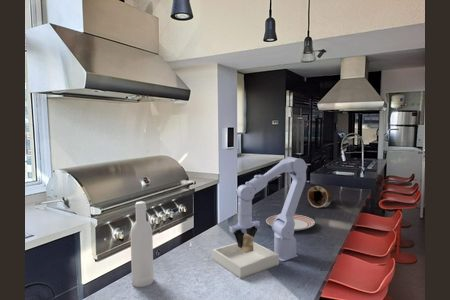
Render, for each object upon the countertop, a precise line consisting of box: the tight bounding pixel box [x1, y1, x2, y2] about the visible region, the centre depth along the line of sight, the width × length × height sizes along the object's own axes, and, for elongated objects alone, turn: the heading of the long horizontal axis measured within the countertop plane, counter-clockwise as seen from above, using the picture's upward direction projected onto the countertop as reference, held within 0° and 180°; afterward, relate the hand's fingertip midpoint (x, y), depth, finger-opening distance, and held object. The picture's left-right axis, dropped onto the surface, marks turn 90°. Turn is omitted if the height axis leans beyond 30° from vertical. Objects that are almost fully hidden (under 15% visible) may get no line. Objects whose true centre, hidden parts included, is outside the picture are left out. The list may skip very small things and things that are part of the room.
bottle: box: [129, 200, 155, 288], centre depth 110 cm, size 8×8×30 cm
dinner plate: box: [265, 214, 316, 232], centre depth 173 cm, size 28×27×3 cm
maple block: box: [238, 233, 254, 253], centre depth 126 cm, size 4×4×6 cm
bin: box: [211, 241, 280, 280], centre depth 127 cm, size 20×20×4 cm
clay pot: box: [307, 185, 334, 209], centre depth 219 cm, size 15×15×25 cm
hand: (244, 245), depth 126 cm, fingers closed on maple block, 4 cm apart
